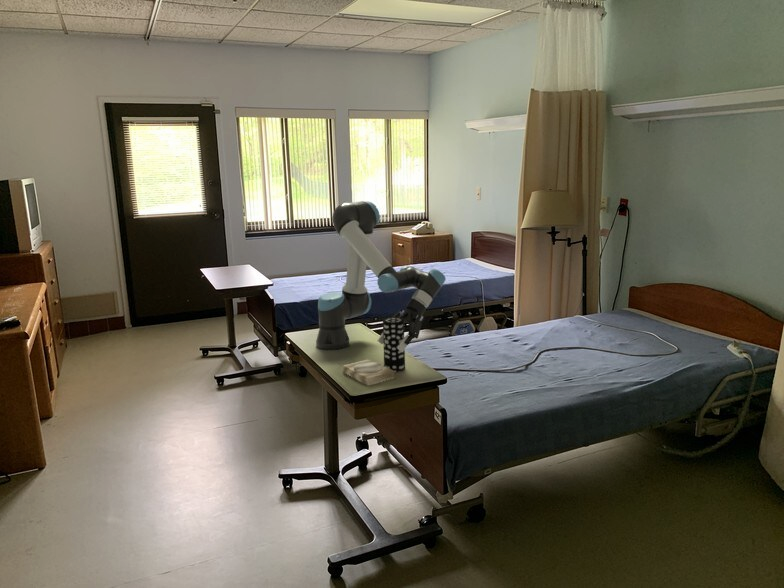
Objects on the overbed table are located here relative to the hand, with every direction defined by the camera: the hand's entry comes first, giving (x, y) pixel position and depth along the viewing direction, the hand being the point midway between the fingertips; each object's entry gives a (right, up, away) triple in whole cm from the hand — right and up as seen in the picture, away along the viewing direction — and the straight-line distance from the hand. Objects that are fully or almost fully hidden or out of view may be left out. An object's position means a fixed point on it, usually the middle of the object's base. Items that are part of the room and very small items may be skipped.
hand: (389, 346), depth 232 cm
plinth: (-8, -11, -4) cm, 14 cm away
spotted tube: (+2, -9, +3) cm, 10 cm away
